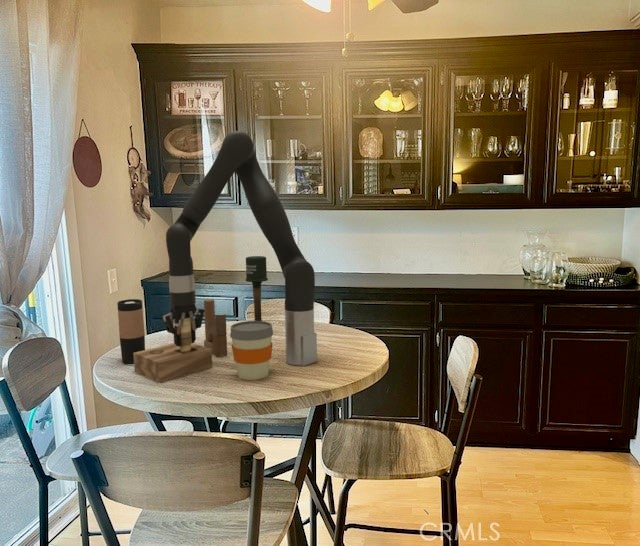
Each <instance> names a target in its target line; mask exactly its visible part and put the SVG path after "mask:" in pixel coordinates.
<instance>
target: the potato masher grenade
mask: <svg viewBox="0 0 640 546" xmlns="http://www.w3.org/2000/svg"><path fill="white" fill-rule="evenodd" d="M267 271H268V269H267V257H266V256H263V255H252V256H247V257H245V273H246V274H245V275H246V276H245V277H246V278H245V282H248V283H251V284H252V297H253V311H254V312H253V313H254V320H253V321H263V320H262V282H267V281H268V280H269V278H268V275H267V274H268V273H267Z"/></svg>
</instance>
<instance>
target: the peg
mask: <svg viewBox="0 0 640 546" xmlns="http://www.w3.org/2000/svg"><path fill="white" fill-rule="evenodd" d="M177 324H179V322H177ZM180 334H181V346H180V353H182V354H184V353H188V352H191V343H192V335H191V321H190V318H186V319H184V321H183V326H182V327H181V332H180Z"/></svg>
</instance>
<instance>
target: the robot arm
mask: <svg viewBox="0 0 640 546" xmlns="http://www.w3.org/2000/svg"><path fill="white" fill-rule="evenodd" d="M253 141H254V140H253V139H252V137H251V136H250V135H249V134H248V133H246V132H245V131H242V130H234V131H231V132H228V134H227V135H225V136H224V138H223V140H222V144H221V147H220V149H219V151H218V153H217V155H216V158H215V160H214V161H213V163H212V165H211V166H210V168H209V170H208V171H207V173H206V174H205V176H204V177H203V178H202V180H201V182H199V184H198V186H197V187H196V188H195V190H194V191H193V193H192V194H191V196H190V197H189V198H188V200H187V202H186V203H185V204H184V206H183V209H182V212H181V214H180V215H179V216H178V218H177V219H176V221H175V222H174V223H173V224H172V225H170V226H169V227H168V229H167V230H166V233H165V242H166V244H165V245H166V249H167V255H168V270H169V281H168V287H169V289H168V290H169V304H170V311H169V313H167V314H162V315H161V319H162V321H163V324H164V326H165V330H166V332H167V333H168V334H172V335H173V343H174V344H176V346H181V334H180V332H181V327H182V326H183V321H184V319H186V318H190V321H191V335H192V343H194V344H195V342H196V339H197V338H196V337H197V336H196V331H197V330H198V329H200V328H201V327H202V323H203V320H204V308H197V306H196V303H197V301H196V300H197V299H196V283H195V282H196V281H195V276H194V275H195V274H194V262H193V258H192V256H191V255H192V253H191V242H192V240H193V238H194V237H195V235H196V233H197V231H198V229H199V228H200V226H201V224H202V223H203V222H204V220H205V219H206V218H207V216H208V215H209V213H210V212H211V210H212V209H213V207H214V206H215V204H216V203H217V201H218V199H219V198H220V196H221V194H222V192H223V190H225V187H226V185H227V183H228V182H229V181H230V179H232V177H233V175H234V174H236V176H237V177H238V179H239V181H240V183H241V186H242V189H243V191H244V194H245V198H246V201H247V203H248V205H249V207H250V210H251V213H252V215H253V217H254V218H255V221H256V223H257V224H258V226H259V228H260V230H261V232H262V233H263V235H264V237H265V238H266V240H267V242H268V243H269V245H270V246H271V247H272V249H273V251H274V253H275V256H276V258H277V261H278V263H279V266H280V269H281V272H282V276H283V278H284V288H285V289H284V293H285V296H284V297H285V298H284V324H285V325H284V330H285V333H284V334H285V336H284V337H285V362H286V363H287V364H289V365H293V366H303V367H306V366H308V365H312V364H314V363H317V362H318V344H317V343H318V342H317V341H318V339H317V332H315V314H314V313H315V311H314V310H315V299H316V292H315V291H316V290H315V289H316V284H315V283H316V277H315V275H316V273H315V270H314V268H313V265H312V264H311V263H310V262H309V261H308V260H307V259H306V258H305V256H304V255H303V253H302V252H301V249H300V248H299V246H298V244H297V243H296V240H295V237H294V235H293V232H292V231H293V230H292V227H291V225H290V221H289V218H288V216H287V213H286V210H285V208H284V206H283V204H282V202H281V200H280V198H279V196H278V194H277V193H276V191H275V189H274V188H273V186H272V185H271V183H270V181H269V180H268V179H267V177H266V176H265V174H264V173H263V170H262V168H261V166H260V164H259V161H258V158H257V155H256V153H255V149H254V148H255V146H254V142H253ZM194 316H195V317H194ZM172 320H173V322H172ZM177 322H179V324H177Z"/></svg>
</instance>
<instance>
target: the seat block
mask: <svg viewBox="0 0 640 546" xmlns="http://www.w3.org/2000/svg"><path fill="white" fill-rule="evenodd" d="M133 356H134V365H133V367H134V370H133V371H134V373H136V372H137V373H136V374H138V373H139V375H140V376H143V375H144V376H143V377H145V376H146V377H145V378H148V379H150V380H152V379H153V380H152V381H154V380H155V382H157V381H158V382H157V383H159V382H160V383H159V384H162V383H164V382H165V381H166V382H168V381H169V382H170V381H171V380H175V379H178V378H182V377H185V375H186V376H188V375H193V374H194V373H197V372H201V371H205V370H209V369H211V368H213V357H212V356H213V354H212V350H211V349H210V348H207V347H204V345H200V344H197V343H195V342H194V343H191V352H188V353H184V354H182V353H180V346H176V344H174V342H173V343H169V344H164V345H161V346H156V347H153V348H147V349H145V350H143V351H139V352H135V353H133ZM161 382H162V383H161Z"/></svg>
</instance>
